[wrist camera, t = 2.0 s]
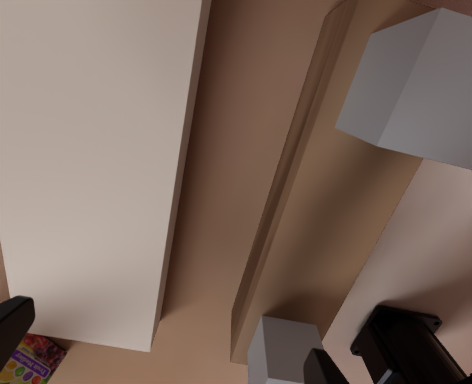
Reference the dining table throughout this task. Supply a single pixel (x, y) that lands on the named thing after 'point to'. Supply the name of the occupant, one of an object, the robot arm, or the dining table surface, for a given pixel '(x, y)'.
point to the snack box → (32, 361)
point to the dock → (95, 158)
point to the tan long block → (323, 189)
